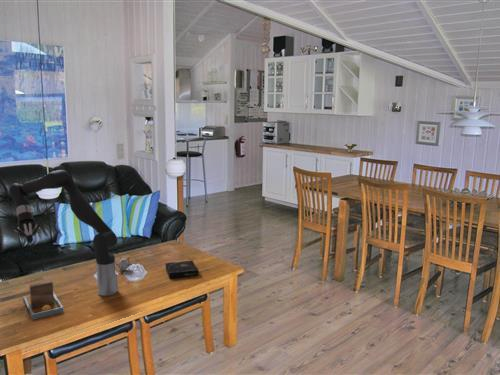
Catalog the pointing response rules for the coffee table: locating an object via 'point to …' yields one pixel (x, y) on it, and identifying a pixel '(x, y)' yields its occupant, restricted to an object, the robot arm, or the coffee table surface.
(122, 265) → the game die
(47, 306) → the ball
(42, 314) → the blue-grey rectangular frame
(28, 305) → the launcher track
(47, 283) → the board
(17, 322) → the coffee table surface
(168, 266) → the portable cd player
